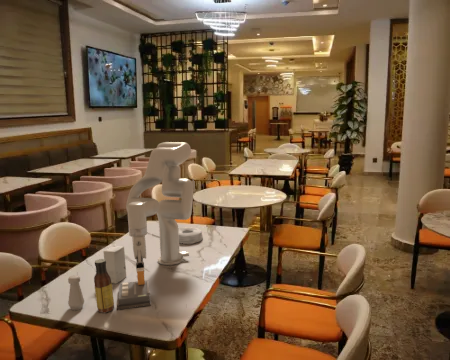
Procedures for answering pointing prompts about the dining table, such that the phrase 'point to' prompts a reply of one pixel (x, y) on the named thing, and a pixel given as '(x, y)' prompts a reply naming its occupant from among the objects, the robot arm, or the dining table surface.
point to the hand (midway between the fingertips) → (140, 271)
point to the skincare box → (115, 263)
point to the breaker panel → (133, 293)
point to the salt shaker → (75, 293)
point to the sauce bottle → (103, 287)
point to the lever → (140, 276)
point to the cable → (189, 235)
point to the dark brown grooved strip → (133, 305)
